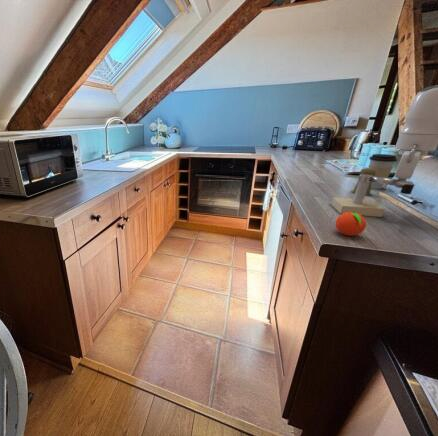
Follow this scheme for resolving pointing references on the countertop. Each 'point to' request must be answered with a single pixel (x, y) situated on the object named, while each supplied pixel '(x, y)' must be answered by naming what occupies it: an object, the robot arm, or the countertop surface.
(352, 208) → the base
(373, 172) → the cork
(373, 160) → the coffee cup
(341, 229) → the clementine
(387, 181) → the spout
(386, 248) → the countertop surface
